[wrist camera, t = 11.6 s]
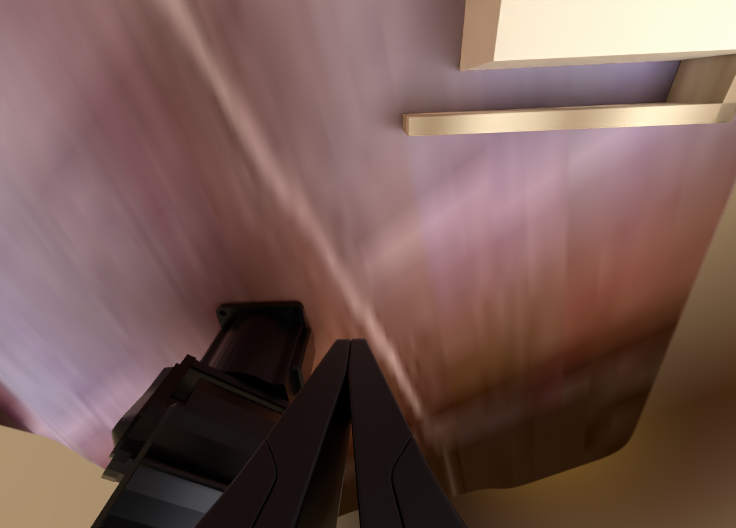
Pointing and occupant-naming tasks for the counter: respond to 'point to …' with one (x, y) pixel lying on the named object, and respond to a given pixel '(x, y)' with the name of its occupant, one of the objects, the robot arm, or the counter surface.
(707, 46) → the carton
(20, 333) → the counter surface
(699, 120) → the tan tray
